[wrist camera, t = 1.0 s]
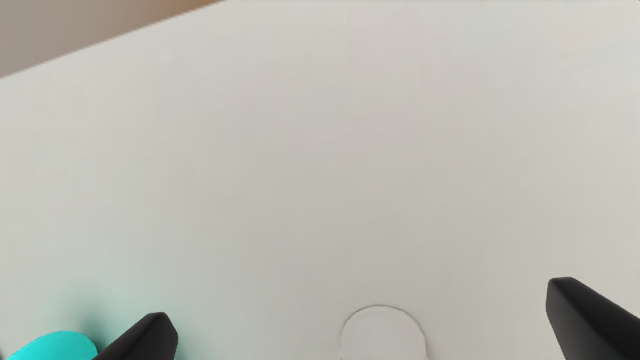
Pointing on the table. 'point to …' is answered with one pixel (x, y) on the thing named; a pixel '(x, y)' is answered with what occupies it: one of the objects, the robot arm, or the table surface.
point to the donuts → (58, 348)
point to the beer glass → (382, 336)
